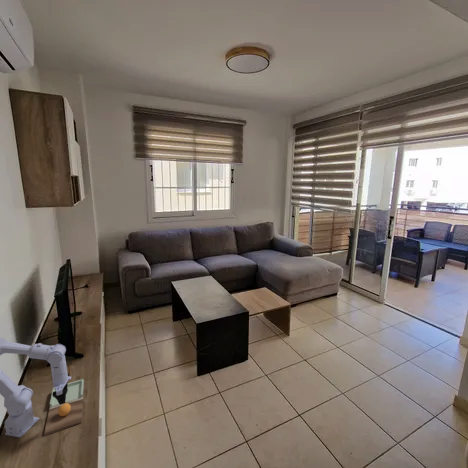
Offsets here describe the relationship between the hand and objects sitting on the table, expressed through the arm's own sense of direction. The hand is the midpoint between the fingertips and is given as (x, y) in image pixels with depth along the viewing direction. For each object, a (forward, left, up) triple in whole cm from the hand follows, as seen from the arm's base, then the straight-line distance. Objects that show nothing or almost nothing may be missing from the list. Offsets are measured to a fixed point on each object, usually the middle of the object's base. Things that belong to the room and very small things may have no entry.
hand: (63, 397), depth 121 cm
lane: (+5, +4, -10) cm, 11 cm away
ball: (0, 0, -7) cm, 7 cm away
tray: (+11, +8, -9) cm, 16 cm away
